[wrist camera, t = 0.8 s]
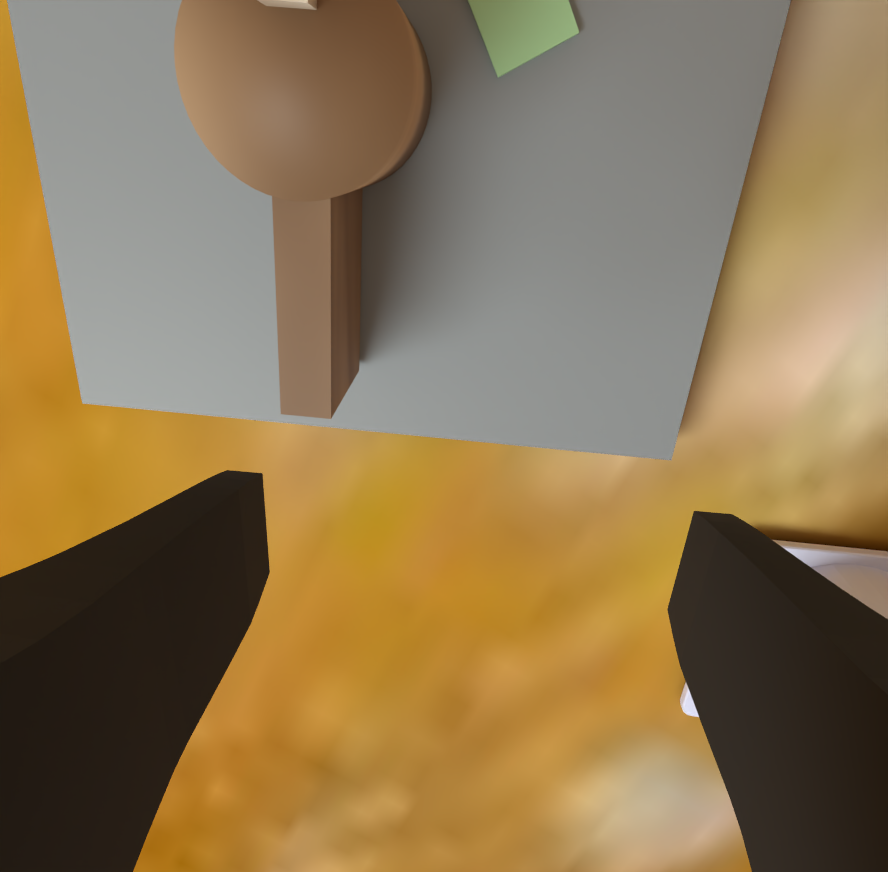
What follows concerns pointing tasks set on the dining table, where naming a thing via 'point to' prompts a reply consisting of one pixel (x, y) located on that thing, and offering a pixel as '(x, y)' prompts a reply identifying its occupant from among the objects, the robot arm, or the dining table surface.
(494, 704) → the dining table surface
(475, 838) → the dining table surface
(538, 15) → the pale green tile
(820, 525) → the dining table surface
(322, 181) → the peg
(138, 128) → the grey board
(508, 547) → the dining table surface
